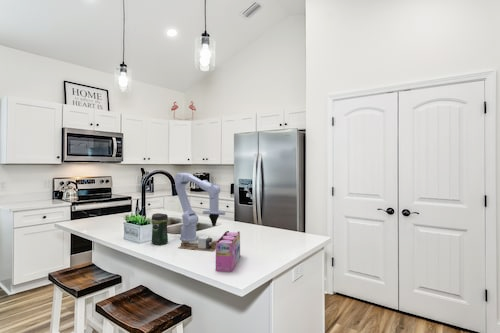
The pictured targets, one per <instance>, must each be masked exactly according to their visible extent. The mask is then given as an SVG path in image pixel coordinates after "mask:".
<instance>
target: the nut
mask: <svg viewBox="0 0 500 333" xmlns="http://www.w3.org/2000/svg"><path fill="white" fill-rule="evenodd" d="M209 242H213V238H211V237H209V239H207V240H206V249H209V248H210V247H212V246H209Z"/></svg>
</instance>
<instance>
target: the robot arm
mask: <svg viewBox="0 0 500 333" xmlns="http://www.w3.org/2000/svg"><path fill="white" fill-rule="evenodd" d="M189 182H191V183H194V184H196V185H197V186H199V188H200V189H202V190H203V191H206V192H207V194H208V196H209V197H208V198H209V210H203V211H202V215H208V217H209V219H210V222H211V225H212V227H216V225H217V221H218V218H219V216H225V215H226V211H220V209H219V206H220V205H219V204H220V203H219V202H220V201H219V199H220V198H219V196H220V193H221V187H220V186H219V184H214V183H213V182H212V183H211V182H210V181H208V179H203V180H201V179H200V178H199V177H196V176H195V175H193V174H192V173H190V172H178V173H176V175H174V183H175V191H176V193H177V197H178V199H179V202H180V205H181V208H182V211H183V213H182V215H181V218H182V224H183V225H181V228H180V241H182V240H188V241H196V240H198V238H199V236H197V223H199V216H198V215H197V213H196V212H195V211H194V210H193V209H192V206H191V203H190V200H189V198H188V194H187V191H186V188H185V187H186V186H187V184H189Z"/></svg>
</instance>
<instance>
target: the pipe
mask: <svg viewBox="0 0 500 333" xmlns="http://www.w3.org/2000/svg"><path fill="white" fill-rule="evenodd" d="M181 242H182V243H185V244H190V245H198V240H194V241H190V240H181ZM212 242H213V241H212ZM212 242H209V246H212Z"/></svg>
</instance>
